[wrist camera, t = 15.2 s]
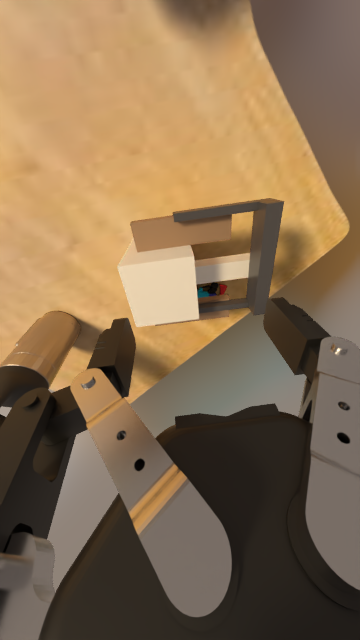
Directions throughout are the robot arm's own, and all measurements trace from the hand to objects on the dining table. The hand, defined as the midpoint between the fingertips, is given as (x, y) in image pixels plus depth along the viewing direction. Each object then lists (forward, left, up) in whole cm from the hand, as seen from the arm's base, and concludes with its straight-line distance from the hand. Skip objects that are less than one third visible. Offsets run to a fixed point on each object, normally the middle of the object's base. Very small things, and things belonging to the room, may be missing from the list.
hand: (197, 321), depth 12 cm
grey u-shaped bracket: (+6, -5, -21) cm, 22 cm away
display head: (+2, -7, -33) cm, 34 cm away
